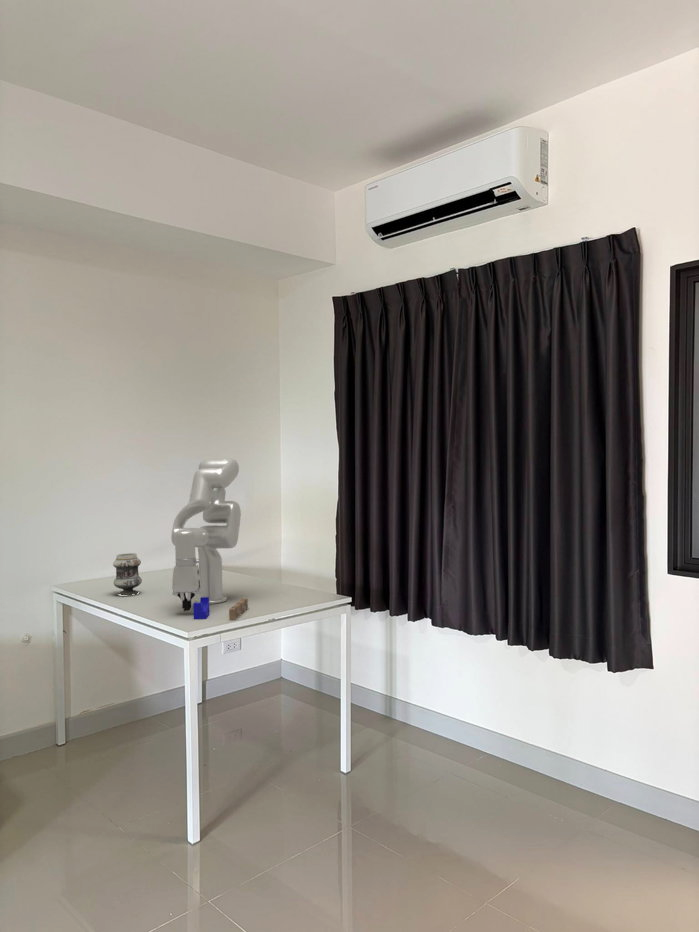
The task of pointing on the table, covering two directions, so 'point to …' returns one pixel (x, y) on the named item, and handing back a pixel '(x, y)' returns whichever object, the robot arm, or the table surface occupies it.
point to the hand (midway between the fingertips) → (186, 610)
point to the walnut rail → (238, 608)
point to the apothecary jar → (127, 573)
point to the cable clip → (201, 608)
